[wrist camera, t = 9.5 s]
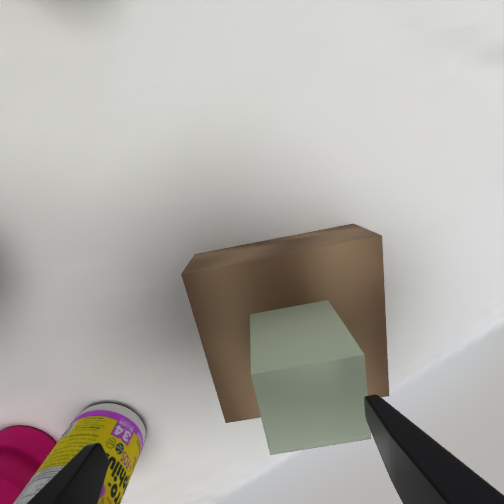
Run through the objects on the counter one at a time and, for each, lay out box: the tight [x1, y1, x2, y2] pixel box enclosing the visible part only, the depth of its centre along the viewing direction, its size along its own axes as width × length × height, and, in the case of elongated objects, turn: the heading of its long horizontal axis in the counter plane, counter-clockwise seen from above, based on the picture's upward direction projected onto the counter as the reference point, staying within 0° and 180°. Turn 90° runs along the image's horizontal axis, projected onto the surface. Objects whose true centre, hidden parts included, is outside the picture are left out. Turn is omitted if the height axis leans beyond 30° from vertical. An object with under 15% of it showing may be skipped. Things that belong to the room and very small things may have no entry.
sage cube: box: [250, 300, 371, 455], centre depth 14 cm, size 5×5×5 cm
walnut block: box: [181, 224, 389, 423], centre depth 18 cm, size 12×12×4 cm
